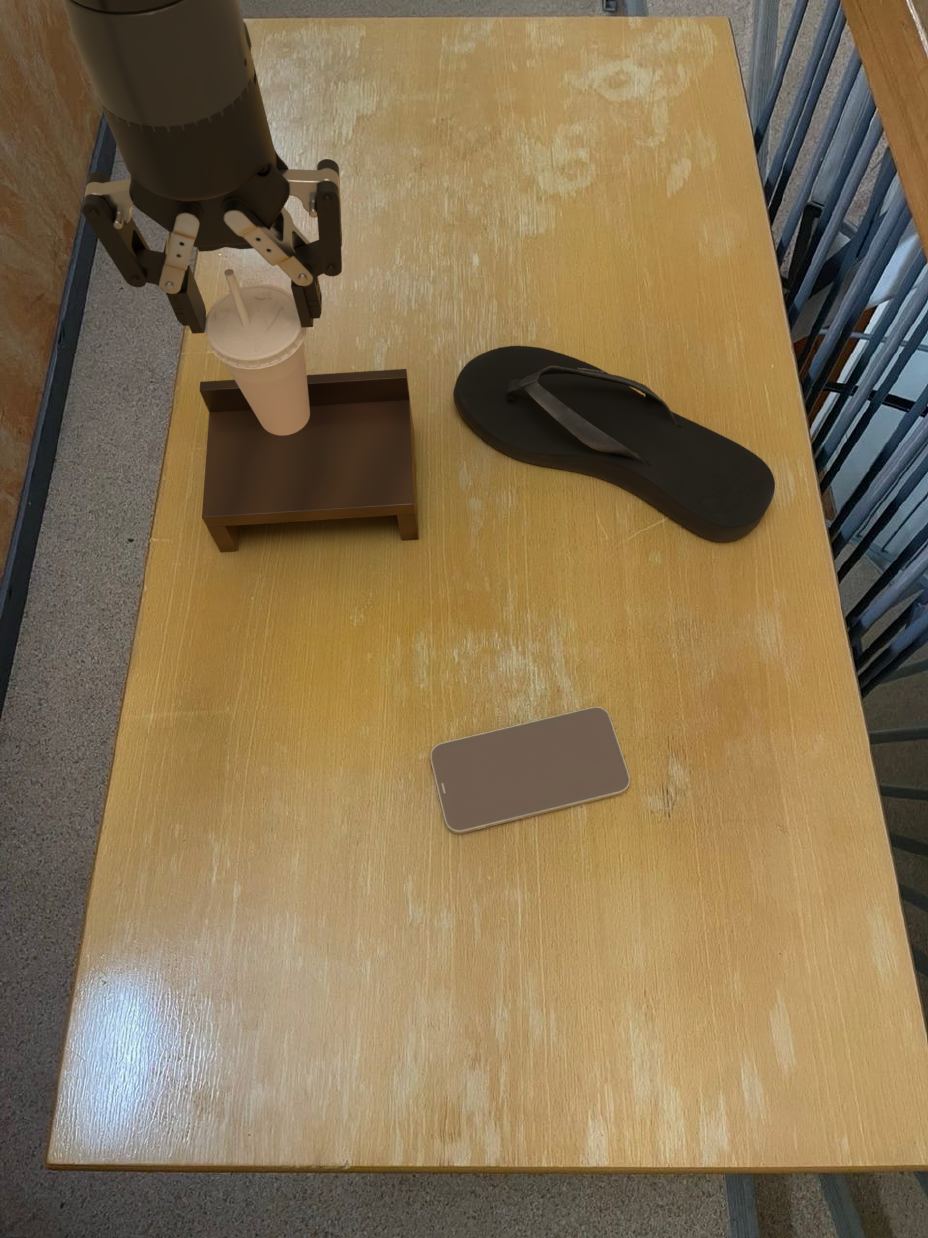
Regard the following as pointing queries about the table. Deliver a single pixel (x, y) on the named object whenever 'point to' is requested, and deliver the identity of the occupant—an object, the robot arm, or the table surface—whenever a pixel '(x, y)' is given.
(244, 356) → the smoothie
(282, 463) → the shelf
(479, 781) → the smartphone
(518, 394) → the sandal
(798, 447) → the table surface
